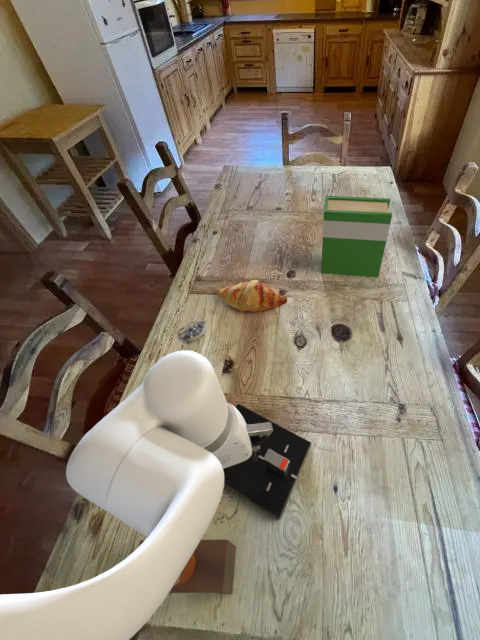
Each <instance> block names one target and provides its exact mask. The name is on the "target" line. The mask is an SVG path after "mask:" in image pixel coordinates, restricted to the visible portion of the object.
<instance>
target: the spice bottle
mask: <svg viewBox="0 0 480 640" xmlns="http://www.w3.org/2000/svg"><path fill="white" fill-rule="evenodd" d="M194 568H195V555H194V552H193V554H192V556H191V557H190V559H189V561H188V562H187V564H186V566H185V567H184V569H183V571H182V572H181V574H180V576H179V577H178V579H177V580H176V582H175V584H174V585H173V587H179V586H182V585H184V584H185V583H186V582H187V581H188V580H189V579H190V577H191V576H192V574H193V571H194Z"/></svg>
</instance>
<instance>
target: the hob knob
mask: <svg viewBox="0 0 480 640" xmlns="http://www.w3.org/2000/svg"><path fill="white" fill-rule="evenodd" d="M264 462H265V466H266V467H267V468H269V469H271V470H272V471H274V472H276V473H278V474H279V475H281V476H283V477H284V478H286V477H287V474H288V472H289V470H290V461H289V460H288V459H286V458H284V457H283V456H281V455H279V454H277V453H276V452H274V451H272V450H270V449H268V451H267V453H266V455H265V457H264Z"/></svg>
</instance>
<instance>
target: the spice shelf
mask: <svg viewBox="0 0 480 640" xmlns="http://www.w3.org/2000/svg"><path fill="white" fill-rule="evenodd" d="M144 541H145V539H140V540H139V543H138V547H139V546H140V545H141V544H142V543H143V542H144ZM236 551H237V546H236V545H235V544H234V543H233V542H231V541H230V540H229V539H228V538H227V539H226V538H225V539H224V538H221V539H219V538H218V539H217V538H213V539H211V538H210V539H201V541H200V542H199V544H198V546H197V547H196V549H195V551H194V555H195V568H194V571H193V574H192V576H191V577H190V579H189V580H188V581H187V582H186V583H185V584H184V585H182V586H179V587H172V589H171V590H170V592H169V593H168V594H224V595H232V594H233V593H234V591H233V590H234V580H235V579H234V578H235V567H236V566H235V565H236Z"/></svg>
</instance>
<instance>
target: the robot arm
mask: <svg viewBox="0 0 480 640" xmlns="http://www.w3.org/2000/svg"><path fill="white" fill-rule="evenodd" d="M235 407H236V406H234V405H233V404H231V403H230V402H228V401H227V399H226V397H225V394H224V392H223V389H222V387H221V384H220V381H219V378H218V376H217V374H216V371H215V369H214V367H213V364H212V363H211V362H210V360H208V359H207V357H205V356H204V355H202V354H201V353H199V352H196V351H193V350H178V351H177V350H176V351H174V352H171V353H168V354H166V355H164V356H163V357H161V358H159V359H158V361H156V362H155V363H154V364H153V365H152V367H150V369H149V370H148V372H147V374H146V375H145V377H144V379H143V382H142V383H141V384H140V385H139V386H138V387H137V388H135V389H134V390H133V391H132V392H131V393H130V394H129V395H128V396H127V397H126V398H125V399H124V400H123V401H122V402H120V403H119V404H118V405H117V406H115V407H114V408H113V409H112V410H111V411H110V412H109V413H107V414H106V415H105V416H104V417H103V418H102V419H101V420H99V421H98V422H97V423H96V424H95V425H94V426H93V427H92V428H91V429H90V430H88V431H87V432H86V433H85V434H84V435H83V436H82V438H81V439H80V440H79V442H78V443H77V445H76V446H75V447H74V449H73V451H72V452H71V454H70V456H69V457H68V461H67V464H66V468H65V476H66V480H67V484H68V485H69V486H70V488H71V489H73V490H74V491H75V492H76V493H77V494H78V495H80V496H82V498H84V499H86V500H88V501H89V502H91V503H93V504H94V505H96V506H97V507H98V508H100V509H102V510H103V511H105V512H106V513H108V514H110V515H111V516H113V518H115V519H117V520H119V521H120V522H122V523H123V524H125V525H127V526H128V527H129V528H132V529H133V530H135V531H136V532H137V533H139V534H141V536H144V537H145V539H144V540H145V541H144V542H143V543H142V544H141V545H140V546H139V545H138V547H137V548H136V549H135V550H133V552H131V553H130V554H129V555H128V556H127V557H125V558H124V559H123V560H122V561H120V562H118V563H117V564H116V565H114V566H113V567H111V568H110V569H108V570H106V571H105V572H102V573H100V574H98V575H96V576H94V577H92V578H90V579H87V580H85V581H82V582H79V583H76V584H73V585H70V586H66V587H62V588H58V589H53V590H47V591H40V592H30V593H8V594H7V593H6V594H5V593H3V594H0V640H131V639H132V638H133V637H134V636H135V635H136V634H138V632H139V631H140V630H141V629H142V628H143V627H144V625H145V624H146V623H148V622H149V620H150V619H151V618H152V617H153V616H154V615H155V613H156V612H157V611H158V609H159V608H160V606H162V605H163V602H164V601H165V600H166V598H167V597H168V595H169V594H170V593H169V592H170V590H171V589H172V587H173V585H174V584H175V582H176V580H177V579H178V577H179V576H180V574H181V572H182V571H183V569H184V567H185V566H186V564H187V562H188V561H189V559H190V557H191V556H192V554H193V552H194V551H195V549H196V547H197V546H198V544H199V542H200V541H201V540H203V537H204V535H205V534H206V532H207V530H208V528H209V526H210V524H211V523H212V520H213V518H214V516H215V515H216V513H217V510H218V508H219V505H220V504H221V503H220V502H221V500H222V497H223V494H224V493H223V492H224V488H225V485H224V471H223V469H224V468H227V467H230V466H232V465H235V464H238V463H241V462H243V461H245V460H247V459H249V458H250V456H251V459H252V461H254V462H255V461H257V458H256V453H258V452H259V450H260V446H259V445H261V444H262V443H263V442H265V441H266V440H267V439H268V437H267V436H269V435H270V434H271V433H272V432H273V428H272V424H271V422H265V423H257V424H249V425H246V422H245V420H244V418H243V416H242V415H241V413H240V412H239V411H238V410H237V409H236V408H235Z"/></svg>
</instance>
